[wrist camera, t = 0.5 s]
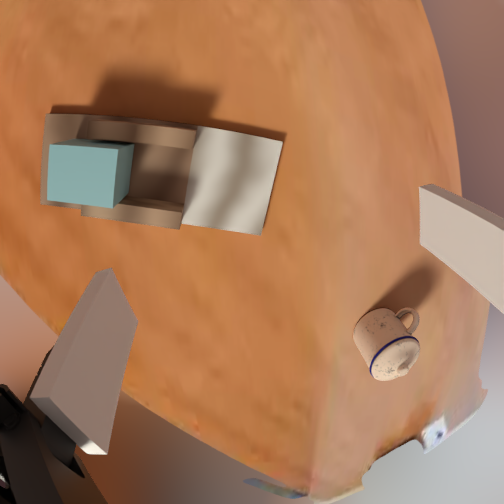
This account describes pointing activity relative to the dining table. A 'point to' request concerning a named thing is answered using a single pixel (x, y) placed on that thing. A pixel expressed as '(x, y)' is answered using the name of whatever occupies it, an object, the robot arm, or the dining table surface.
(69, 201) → the teal block
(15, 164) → the dining table surface
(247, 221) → the walnut board
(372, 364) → the teacup with lid
